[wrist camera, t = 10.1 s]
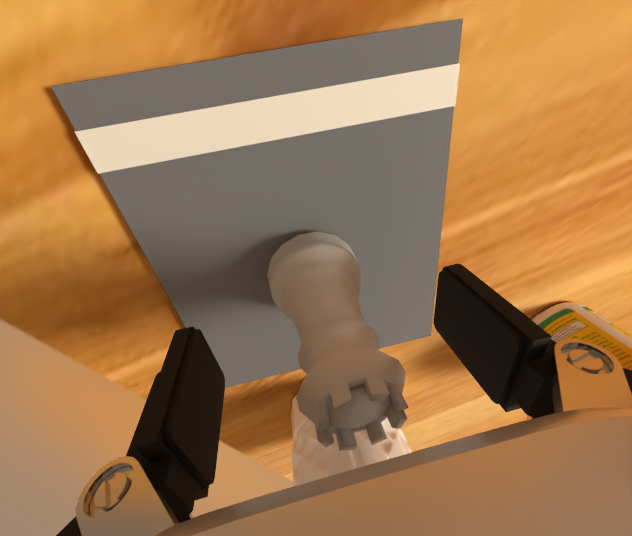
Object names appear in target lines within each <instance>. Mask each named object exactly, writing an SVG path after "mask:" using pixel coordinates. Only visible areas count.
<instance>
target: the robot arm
mask: <svg viewBox="0 0 632 536" xmlns="http://www.w3.org/2000/svg"><path fill="white" fill-rule="evenodd" d="M434 326H435V328H436V330H437V331H438V333H439V334H440V335H441V336H442V338H443V339H444V340H445V341H446V343H447V344H448V345H449V347H450V348H451V349H452V350H453V352H454V353H455V354H456V355H457V357H458V358H459V359H460V360H461V362H462V363H463V364H464V366H465V367H466V368H467V369H468V371H469V372H470V373H471V374H472V376H473V377H474V378H475V380H476V381H477V382H478V383H479V385H480V386H481V387H482V388H483V390H484V391H485V392H486V393H487V395H488V396H489V397H490V399H491V400H492V401H493V402H494V403H496V404H500V405H501V407H502V408H503V409H504V410H505V412H508V411H512V410H516V409H519V408H522V410H523V411H524V412H525V413H526V414H527V421H523V422H519V423H515V424H511V425H508V426H504V427H500V428H497V429H493V430H490V431H486V432H482V433H479V434H475V435H472V436H468V437H465V438H461V439H458V440H454V441H450V442H447V443H443V444H440V445H436V446H433V447H429V448H426V449H422V450H419V451H415V452H412V453H408V454H405V455H401V456H398V457H394V458H391V459H387V460H384V461H380V462H377V463H373V464H370V465H366V466H363V467H359V468H356V469H352V470H349V471H345V472H342V473H339V474H335V475H332V476H328V477H325V478H321V479H318V480H315V481H311V482H308V483H304V484H301V485H298V486H294V487H291V488H287V489H284V490H281V491H277V492H274V493H270V494H267V495H263V496H261V497H257V498H253V499H250V500H247V501H244V502H241V503H237V504H234V505H231V506H228V507H225V508H221V509H218V510H215V511H212V512H209V513H206V514H203V515H200V516H198V517H195V518H193V516H192V514H191V512H192V510H193V506H194V500H198V499H201V498H204V497H207V496H208V488H209V485H210V484H212V483H213V482H214V478H215V470H216V461H217V452H218V443H219V434H220V426H221V417H222V408H223V399H224V390H225V377H224V374H223V372H222V370H221V368H220V366H219V364H218V362H217V360H216V358H215V356H214V355H213V353H212V351H211V349H210V347H209V345H208V343H207V341H206V339H205V337H204V335H203V333H202V331H201V330H200V329H195V328H194V327H188V328H183V329H179V330H176V331H175V333H174V336H173V339H172V341H171V344H170V347H169V350H168V352H167V355H166V358H165V361H164V364H163V366H162V369H161V372H159V373H158V374H157V375H156V377H155V379H154V382H153V385H152V387H151V390H150V393H149V396H148V398H147V401H146V404H145V406H144V409H143V412H142V414H141V417H140V420H139V423H138V426H137V428H136V431H135V433H134V436H133V439H132V442H131V444H130V447H129V450H128V452H127V455H126V456H125V457H120V458H117V459H115V460H113V461H111V462H109V463H108V464H106V465H105V466H104V467H103V468H101V469H100V470H99V471H98V472H97V473H96V474H95V475H94V476H93V477H92V478H91V479H90V481H89V482H88V483H87V485H86V486H85V487H84V489H83V491H82V493H81V495H80V497H79V499H78V503H77V506H76V517H75V518H74V519H73V520H72V521H71V522H70V523H69V524H68V525H67V526H66V527H65V528H64V529H63V530H62V531H61V532H60V533H58V535H56V536H632V370H629V369H625V368H622V366H621V364H620V362H619V361H618V359H617V358H616V357H615V356H614V355H613V354H611V353H610V352H609V351H607V350H606V349H604V348H602V347H600V346H598V345H596V344H594V343H591V342H588V341H584V340H580V339H564V340H561V341H558V342H557V343H556V342H555V341H553V340H552V339H551V337H552V336H551V335H550V334H548V333H547V332H546V331H544V330H543V329H542V328H541V327H539V326H538V325H537V324H536V323H534V322H533V321H532V320H531V319H529V318H528V317H527V316H526V315H524V314H523V313H522V312H521V311H519V310H518V309H517V308H516V307H514V306H513V305H512V304H510V303H509V302H508V301H507V300H505V299H504V298H503V297H502V296H500V295H499V294H498V293H497V292H495V291H494V290H493V289H492V288H490V287H489V286H488V285H487V284H485V283H484V282H483V281H481V280H480V279H479V278H478V277H476V276H475V275H474V274H473V273H471V272H470V271H469V270H468V269H466V268H465V267H464V266H463V265H461V264H455V265H450V266H446V267H444V268H443V269H442V271H441V272H440V273H439V277H438V286H437V296H436V305H435V314H434Z"/></svg>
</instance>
